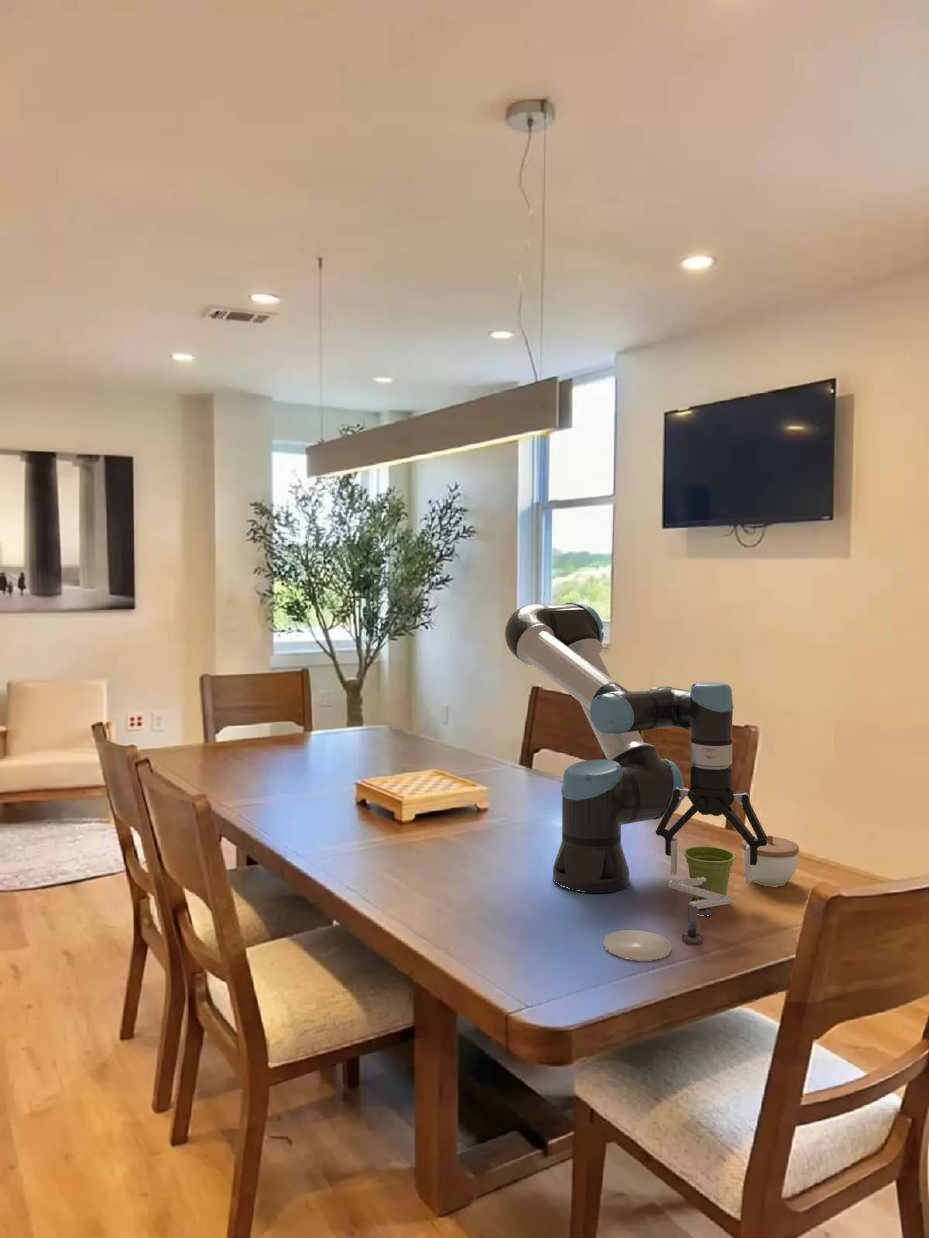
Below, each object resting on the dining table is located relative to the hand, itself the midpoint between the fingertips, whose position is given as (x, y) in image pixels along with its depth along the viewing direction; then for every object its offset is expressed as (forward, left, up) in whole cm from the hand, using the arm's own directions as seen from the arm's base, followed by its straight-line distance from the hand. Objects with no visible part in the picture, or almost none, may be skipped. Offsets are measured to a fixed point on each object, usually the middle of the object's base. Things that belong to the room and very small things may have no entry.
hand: (710, 877), depth 171 cm
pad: (-8, -27, -4) cm, 28 cm away
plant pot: (0, 0, -5) cm, 5 cm away
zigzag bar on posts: (0, -14, -4) cm, 15 cm away
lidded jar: (+10, +14, -5) cm, 18 cm away
